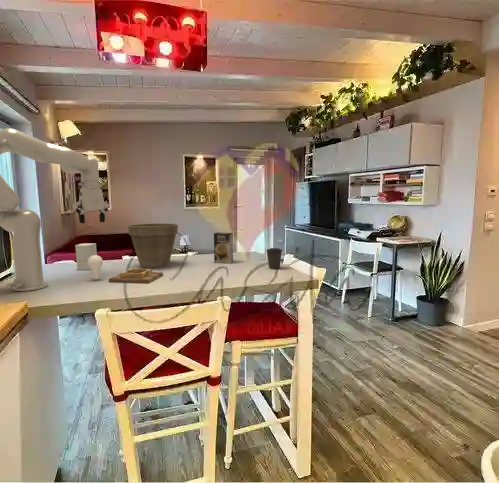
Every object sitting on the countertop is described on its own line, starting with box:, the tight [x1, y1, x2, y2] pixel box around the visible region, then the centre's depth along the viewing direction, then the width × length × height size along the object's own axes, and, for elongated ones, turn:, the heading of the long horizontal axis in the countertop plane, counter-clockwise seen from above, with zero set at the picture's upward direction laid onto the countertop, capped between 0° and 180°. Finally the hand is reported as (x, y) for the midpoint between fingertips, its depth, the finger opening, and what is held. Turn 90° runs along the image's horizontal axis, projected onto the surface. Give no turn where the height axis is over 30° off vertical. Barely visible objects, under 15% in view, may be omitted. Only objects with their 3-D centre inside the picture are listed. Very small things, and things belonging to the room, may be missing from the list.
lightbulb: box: [88, 254, 104, 281], centre depth 157 cm, size 6×6×11 cm
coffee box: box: [213, 232, 234, 264], centre depth 195 cm, size 9×6×16 cm
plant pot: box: [127, 222, 179, 269], centre depth 188 cm, size 25×25×22 cm
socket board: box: [108, 268, 164, 284], centre depth 159 cm, size 15×18×4 cm
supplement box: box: [74, 242, 98, 271], centre depth 182 cm, size 7×7×13 cm
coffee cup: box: [266, 247, 283, 270], centre depth 178 cm, size 8×8×10 cm
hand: (92, 222), depth 168 cm, fingers open, 9 cm apart
